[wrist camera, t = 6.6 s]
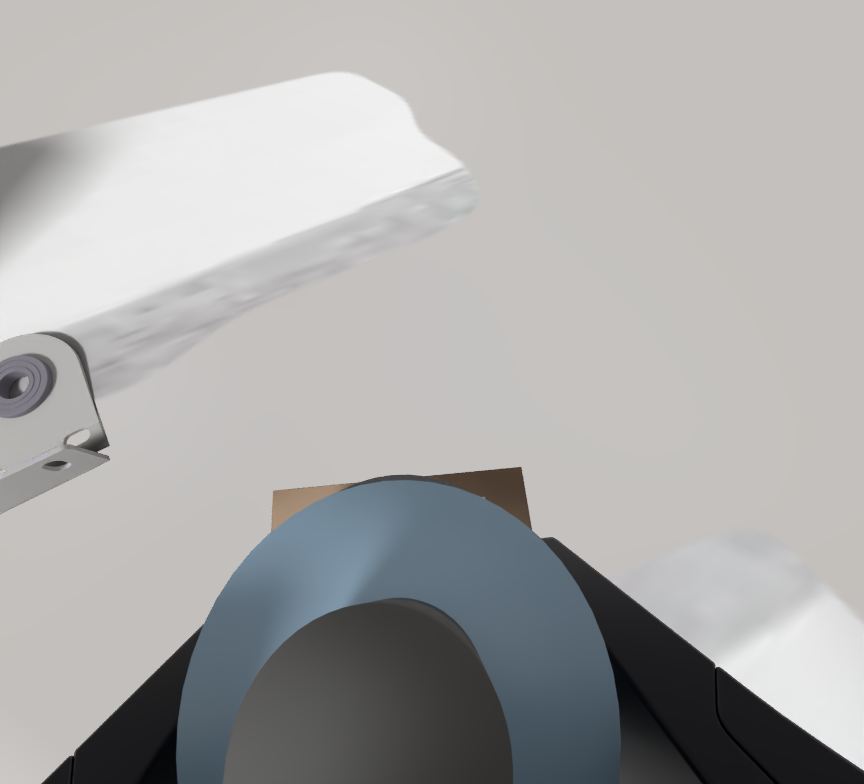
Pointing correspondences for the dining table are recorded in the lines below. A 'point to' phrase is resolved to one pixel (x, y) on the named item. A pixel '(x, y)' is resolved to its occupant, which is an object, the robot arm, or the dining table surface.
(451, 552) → the blue capped bottle
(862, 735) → the dining table surface
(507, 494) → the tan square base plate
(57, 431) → the bracket
